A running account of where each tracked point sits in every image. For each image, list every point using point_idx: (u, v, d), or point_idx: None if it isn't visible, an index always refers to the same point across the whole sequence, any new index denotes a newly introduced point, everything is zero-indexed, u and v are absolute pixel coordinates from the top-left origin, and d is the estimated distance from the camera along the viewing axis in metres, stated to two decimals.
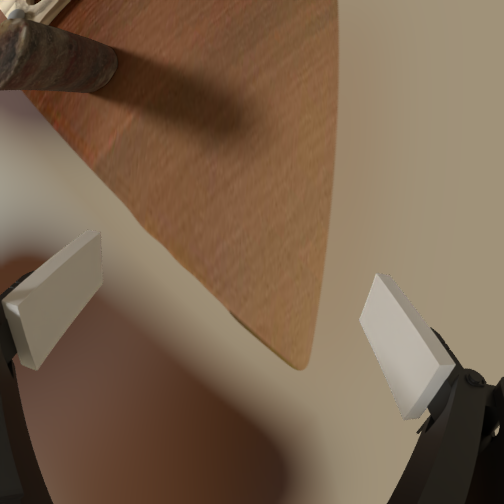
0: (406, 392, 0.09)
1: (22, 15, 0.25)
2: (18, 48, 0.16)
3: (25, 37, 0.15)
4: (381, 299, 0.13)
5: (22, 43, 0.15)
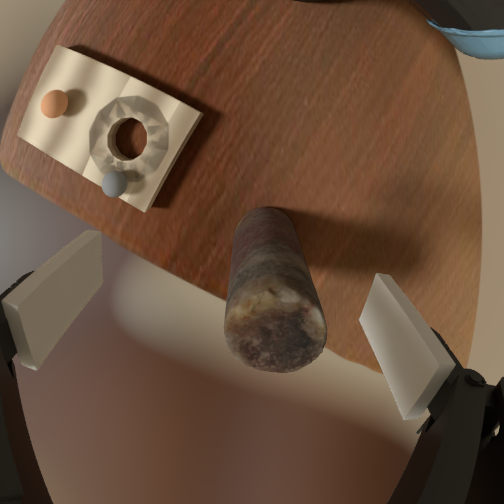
0: (406, 392, 0.09)
1: (126, 181, 0.32)
2: (317, 335, 0.20)
3: (325, 322, 0.20)
4: (381, 299, 0.13)
5: (324, 330, 0.20)
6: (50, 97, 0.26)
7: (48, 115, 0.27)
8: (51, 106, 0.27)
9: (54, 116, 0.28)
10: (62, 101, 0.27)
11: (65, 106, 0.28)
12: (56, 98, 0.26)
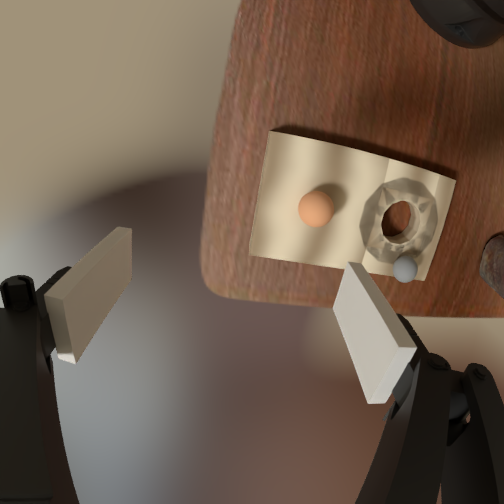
0: (370, 376, 0.10)
1: (415, 262, 0.32)
2: None
3: None
4: (351, 286, 0.14)
5: None
6: (321, 205, 0.28)
7: (321, 225, 0.29)
8: (327, 215, 0.28)
9: (325, 224, 0.30)
10: (333, 205, 0.29)
11: None
12: (328, 204, 0.28)
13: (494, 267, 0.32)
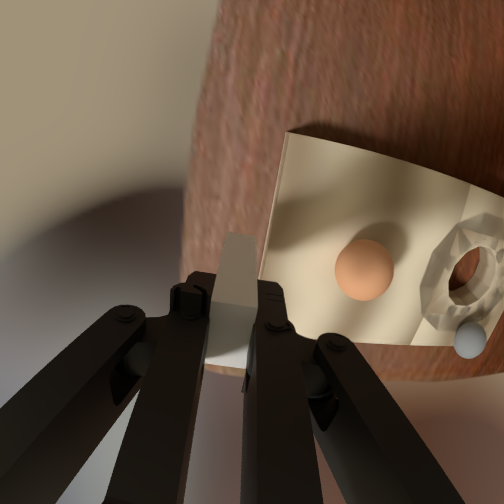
0: None
1: None
2: None
3: None
4: None
5: None
6: (378, 269, 0.15)
7: (371, 299, 0.17)
8: (385, 285, 0.16)
9: None
10: (393, 264, 0.16)
11: None
12: (388, 266, 0.16)
13: None
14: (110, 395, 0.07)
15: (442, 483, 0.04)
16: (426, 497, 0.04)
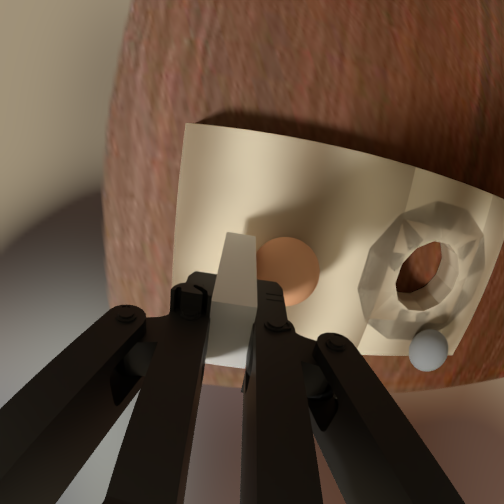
0: None
1: (445, 338, 0.18)
2: None
3: None
4: None
5: None
6: (302, 271, 0.14)
7: (298, 303, 0.16)
8: (312, 287, 0.15)
9: None
10: (318, 262, 0.16)
11: None
12: (313, 265, 0.15)
13: None
14: (110, 395, 0.07)
15: (442, 483, 0.04)
16: (426, 497, 0.04)
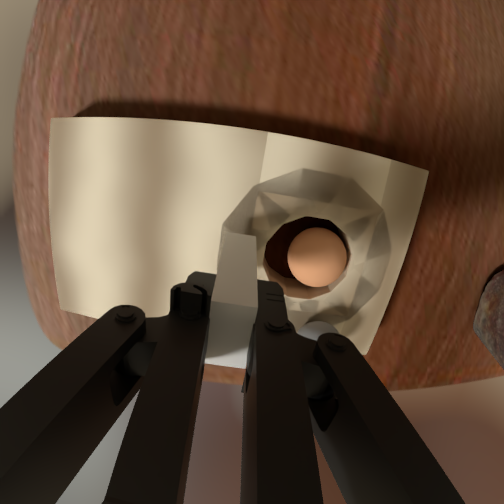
0: None
1: None
2: None
3: None
4: None
5: None
6: (328, 256, 0.17)
7: None
8: (337, 271, 0.17)
9: None
10: (345, 250, 0.18)
11: None
12: (338, 252, 0.17)
13: (498, 326, 0.18)
14: (110, 395, 0.07)
15: (442, 483, 0.04)
16: (426, 497, 0.04)
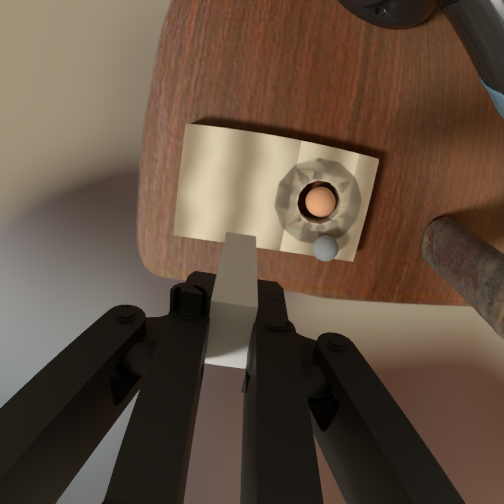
0: None
1: (336, 241, 0.35)
2: None
3: None
4: None
5: None
6: (323, 197, 0.34)
7: (324, 215, 0.35)
8: (328, 206, 0.34)
9: (328, 214, 0.36)
10: (334, 197, 0.35)
11: None
12: (329, 197, 0.34)
13: (434, 248, 0.35)
14: (110, 395, 0.07)
15: (442, 483, 0.04)
16: (426, 497, 0.04)
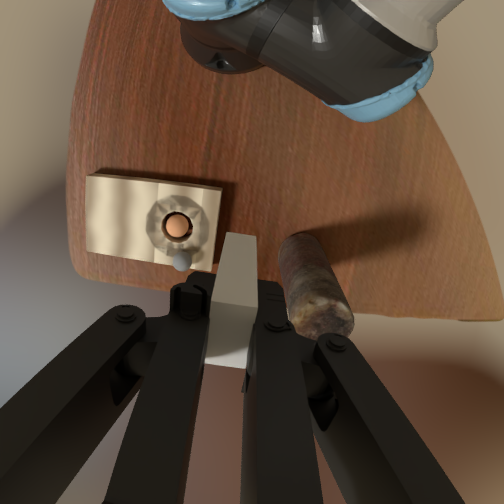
0: None
1: (190, 256, 0.47)
2: (347, 317, 0.33)
3: (348, 308, 0.32)
4: None
5: (349, 313, 0.32)
6: (172, 223, 0.46)
7: (176, 236, 0.47)
8: (176, 229, 0.46)
9: (181, 235, 0.47)
10: (183, 223, 0.46)
11: (186, 225, 0.47)
12: (176, 222, 0.46)
13: (279, 262, 0.47)
14: (110, 395, 0.07)
15: (442, 483, 0.04)
16: (426, 497, 0.04)
